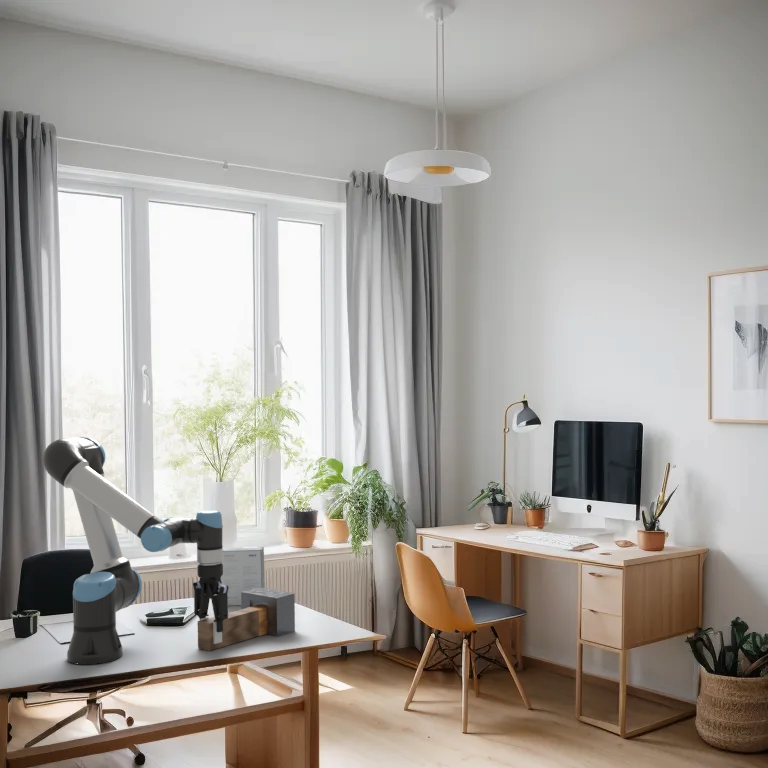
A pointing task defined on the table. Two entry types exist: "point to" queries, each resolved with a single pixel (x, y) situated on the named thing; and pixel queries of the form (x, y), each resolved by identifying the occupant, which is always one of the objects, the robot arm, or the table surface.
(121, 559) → the robot arm
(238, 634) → the bar
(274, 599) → the socket housing
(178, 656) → the table surface
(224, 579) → the hard drive box
